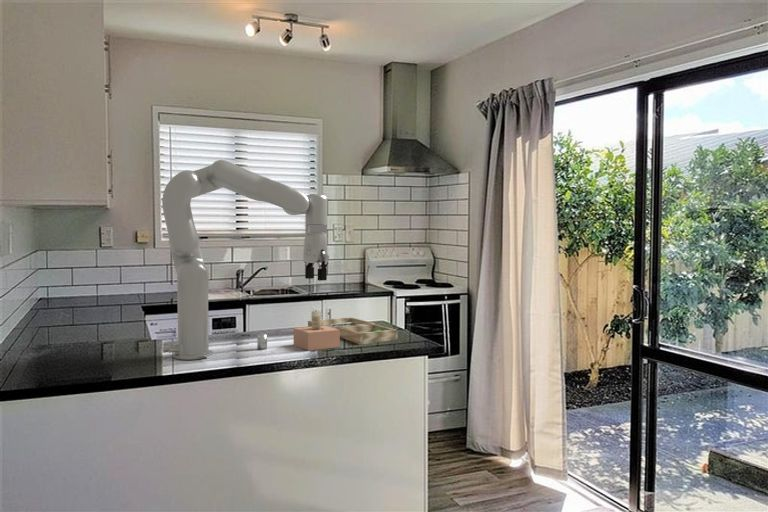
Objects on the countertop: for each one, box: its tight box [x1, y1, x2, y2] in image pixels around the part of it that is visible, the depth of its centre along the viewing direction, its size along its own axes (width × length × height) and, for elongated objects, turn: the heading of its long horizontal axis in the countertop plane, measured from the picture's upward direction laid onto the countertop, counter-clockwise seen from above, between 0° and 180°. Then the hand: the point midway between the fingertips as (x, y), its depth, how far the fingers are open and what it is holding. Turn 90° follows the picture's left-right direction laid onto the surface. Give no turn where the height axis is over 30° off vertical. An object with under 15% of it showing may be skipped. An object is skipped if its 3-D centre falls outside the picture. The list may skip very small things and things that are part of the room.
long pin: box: [311, 310, 322, 330], centre depth 210 cm, size 3×3×12 cm
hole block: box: [293, 325, 341, 352], centre depth 210 cm, size 12×12×6 cm
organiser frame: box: [307, 317, 398, 346], centre depth 233 cm, size 20×38×4 cm, turn 33°
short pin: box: [256, 333, 268, 351], centre depth 204 cm, size 3×3×5 cm
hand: (315, 279), depth 209 cm, fingers open, 9 cm apart
